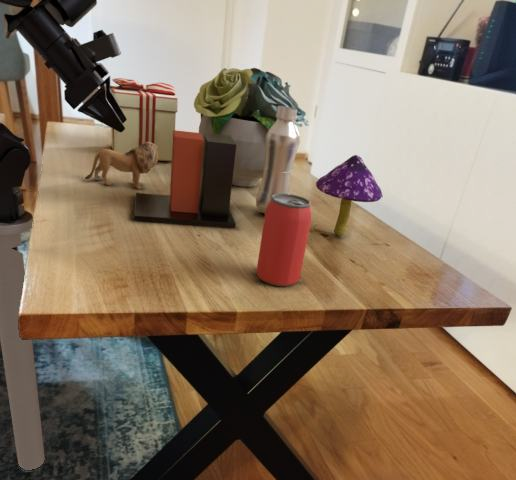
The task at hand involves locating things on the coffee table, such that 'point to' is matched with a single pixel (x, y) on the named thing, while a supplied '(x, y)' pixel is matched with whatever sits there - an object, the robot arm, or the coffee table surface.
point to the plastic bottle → (278, 156)
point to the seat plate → (167, 216)
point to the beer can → (284, 239)
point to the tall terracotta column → (186, 171)
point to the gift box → (145, 116)
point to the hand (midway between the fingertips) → (124, 125)
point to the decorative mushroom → (349, 187)
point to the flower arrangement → (244, 115)
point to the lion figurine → (126, 162)
